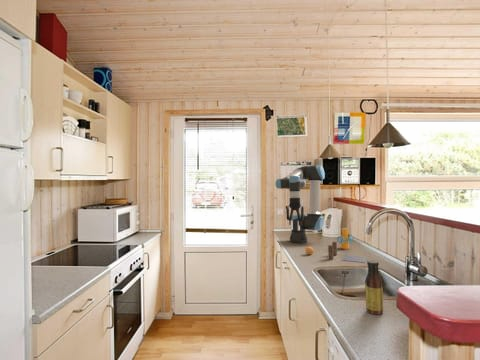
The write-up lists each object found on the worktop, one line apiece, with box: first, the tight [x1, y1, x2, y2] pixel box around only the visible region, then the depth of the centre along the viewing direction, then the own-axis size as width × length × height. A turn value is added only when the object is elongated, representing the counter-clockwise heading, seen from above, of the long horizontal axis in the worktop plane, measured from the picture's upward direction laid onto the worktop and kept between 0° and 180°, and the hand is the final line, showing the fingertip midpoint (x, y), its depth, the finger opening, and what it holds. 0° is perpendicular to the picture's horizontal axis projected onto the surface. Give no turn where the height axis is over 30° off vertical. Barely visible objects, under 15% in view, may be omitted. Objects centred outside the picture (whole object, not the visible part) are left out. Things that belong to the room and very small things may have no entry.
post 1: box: [327, 244, 334, 261], centre depth 205 cm, size 3×3×9 cm
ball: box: [305, 246, 314, 256], centre depth 218 cm, size 6×6×6 cm
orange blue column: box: [336, 227, 354, 250], centre depth 237 cm, size 12×10×15 cm
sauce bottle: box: [364, 259, 384, 315], centre depth 122 cm, size 7×6×20 cm
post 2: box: [331, 241, 338, 256], centre depth 216 cm, size 3×3×9 cm
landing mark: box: [341, 255, 368, 264], centre depth 204 cm, size 14×14×1 cm
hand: (295, 229), depth 223 cm, fingers open, 4 cm apart
